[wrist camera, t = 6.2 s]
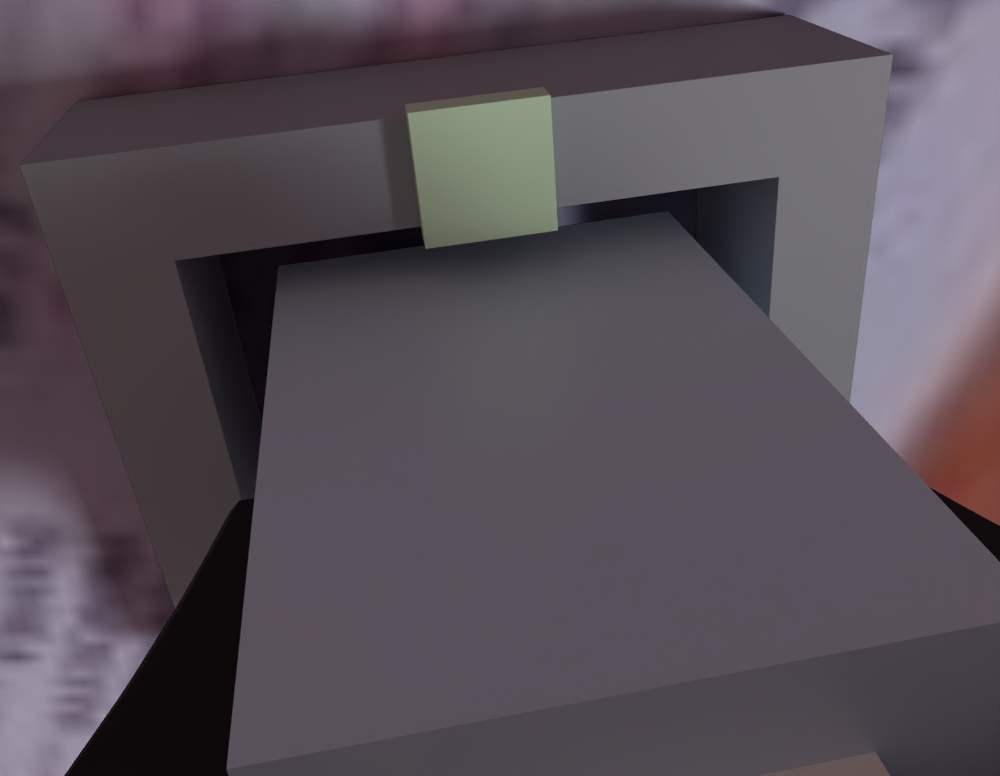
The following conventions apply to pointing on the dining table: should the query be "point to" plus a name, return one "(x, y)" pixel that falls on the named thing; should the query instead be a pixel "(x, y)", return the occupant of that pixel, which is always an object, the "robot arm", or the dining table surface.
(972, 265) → the dining table surface
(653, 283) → the plug
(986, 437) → the dining table surface
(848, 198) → the port
